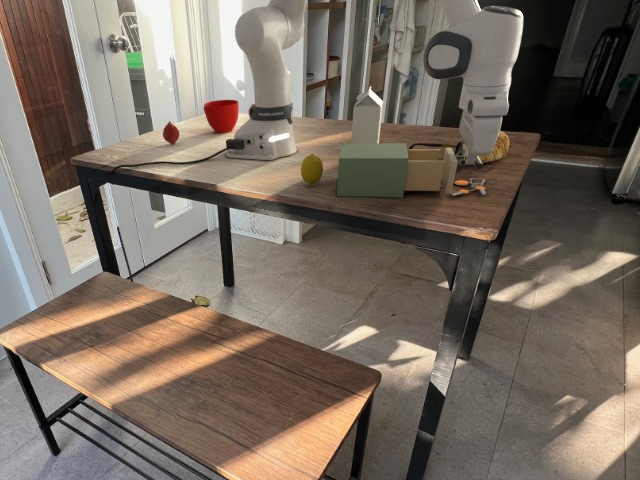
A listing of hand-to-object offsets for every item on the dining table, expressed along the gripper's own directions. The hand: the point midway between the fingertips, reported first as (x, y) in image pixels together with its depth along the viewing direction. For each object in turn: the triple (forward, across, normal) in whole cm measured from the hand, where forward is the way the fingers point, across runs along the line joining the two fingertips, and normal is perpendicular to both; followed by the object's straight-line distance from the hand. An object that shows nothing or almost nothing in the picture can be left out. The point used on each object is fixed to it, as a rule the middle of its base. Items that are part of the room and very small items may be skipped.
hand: (468, 164), depth 99 cm
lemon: (+6, -1, -36) cm, 36 cm away
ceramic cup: (+6, -60, -78) cm, 99 cm away
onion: (+6, -40, -90) cm, 99 cm away
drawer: (+5, 0, -7) cm, 9 cm away
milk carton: (+6, -23, -23) cm, 33 cm away
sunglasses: (+6, -19, -5) cm, 21 cm away
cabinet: (+6, 0, -21) cm, 22 cm away
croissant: (+6, -27, +10) cm, 29 cm away
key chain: (+6, 0, +1) cm, 6 cm away
